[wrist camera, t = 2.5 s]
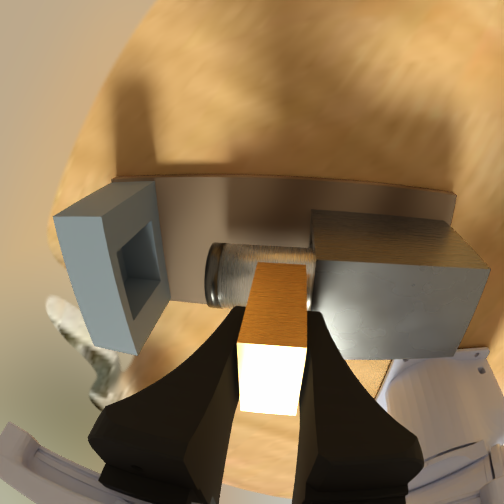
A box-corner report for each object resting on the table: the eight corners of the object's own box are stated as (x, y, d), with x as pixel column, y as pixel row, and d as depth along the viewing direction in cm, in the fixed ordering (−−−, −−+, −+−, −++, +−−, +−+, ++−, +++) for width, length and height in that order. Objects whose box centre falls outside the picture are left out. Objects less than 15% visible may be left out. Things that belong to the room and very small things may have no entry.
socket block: (154, 180, 17) (101, 216, 12) (171, 298, 20) (137, 355, 15) (111, 182, 17) (52, 216, 12) (132, 293, 21) (94, 345, 16)
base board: (452, 192, 15) (456, 195, 14) (421, 310, 19) (423, 315, 18) (116, 176, 18) (111, 179, 17) (136, 290, 21) (133, 295, 21)
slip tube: (436, 242, 15) (507, 342, 8) (420, 297, 16) (466, 406, 9) (218, 228, 16) (159, 332, 9) (222, 287, 18) (178, 400, 11)
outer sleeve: (444, 220, 15) (490, 269, 10) (424, 295, 18) (453, 356, 13) (311, 209, 16) (316, 259, 11) (304, 291, 19) (303, 358, 14)
